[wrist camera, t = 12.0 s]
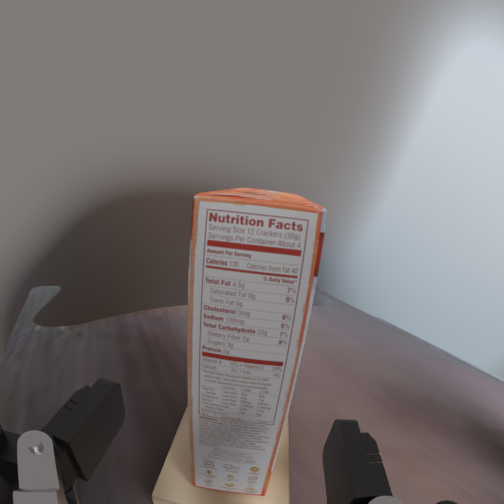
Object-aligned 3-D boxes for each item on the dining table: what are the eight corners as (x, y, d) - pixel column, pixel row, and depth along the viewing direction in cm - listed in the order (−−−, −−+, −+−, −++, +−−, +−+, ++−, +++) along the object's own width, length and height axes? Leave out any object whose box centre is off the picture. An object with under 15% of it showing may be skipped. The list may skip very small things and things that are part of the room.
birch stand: (281, 407, 33) (287, 382, 32) (279, 534, 15) (289, 517, 15) (200, 395, 34) (201, 370, 33) (157, 515, 16) (151, 495, 15)
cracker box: (215, 385, 30) (233, 185, 26) (271, 393, 30) (303, 194, 25) (185, 487, 17) (188, 185, 12) (265, 499, 16) (336, 203, 12)
